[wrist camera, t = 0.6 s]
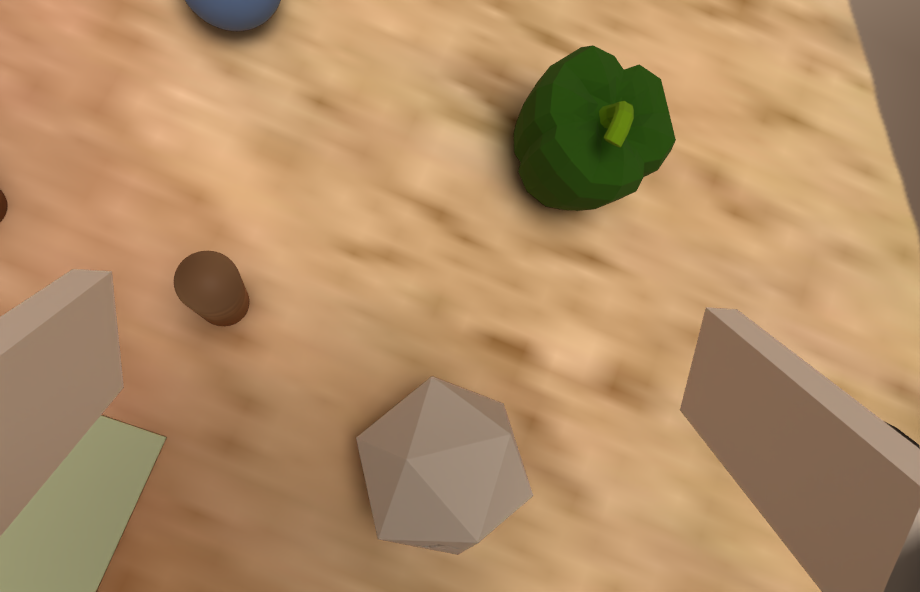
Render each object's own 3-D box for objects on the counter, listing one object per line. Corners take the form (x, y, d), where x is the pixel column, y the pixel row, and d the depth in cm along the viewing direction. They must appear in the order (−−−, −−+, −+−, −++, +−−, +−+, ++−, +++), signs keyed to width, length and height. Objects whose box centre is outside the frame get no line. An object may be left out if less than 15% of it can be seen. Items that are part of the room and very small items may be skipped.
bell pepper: (554, 74, 41) (636, -15, 32) (633, 171, 42) (736, 111, 33) (464, 149, 39) (523, 76, 29) (549, 250, 40) (634, 211, 30)
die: (318, 444, 35) (352, 595, 27) (402, 324, 33) (464, 453, 25) (432, 475, 40) (489, 613, 32) (513, 372, 37) (594, 493, 30)
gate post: (237, 333, 34) (224, 321, 26) (189, 315, 34) (162, 297, 26) (257, 289, 35) (250, 265, 27) (210, 271, 34) (190, 240, 26)
